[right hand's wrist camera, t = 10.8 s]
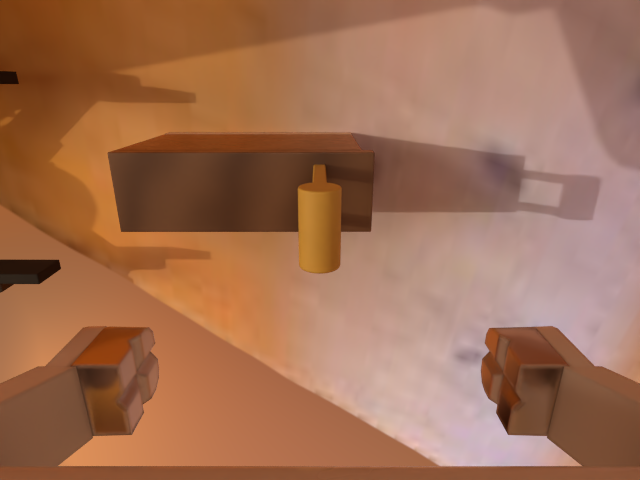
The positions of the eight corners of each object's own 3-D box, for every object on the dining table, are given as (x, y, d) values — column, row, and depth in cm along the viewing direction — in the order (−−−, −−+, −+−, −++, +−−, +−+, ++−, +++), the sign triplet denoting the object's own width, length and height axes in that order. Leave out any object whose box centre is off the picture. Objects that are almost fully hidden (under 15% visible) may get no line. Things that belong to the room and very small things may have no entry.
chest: (350, 132, 35) (362, 149, 25) (349, 190, 36) (359, 227, 27) (169, 132, 35) (114, 149, 25) (176, 191, 36) (127, 227, 27)
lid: (372, 150, 25) (396, 179, 18) (369, 227, 27) (389, 284, 19) (114, 150, 25) (23, 179, 17) (127, 227, 27) (49, 285, 19)
